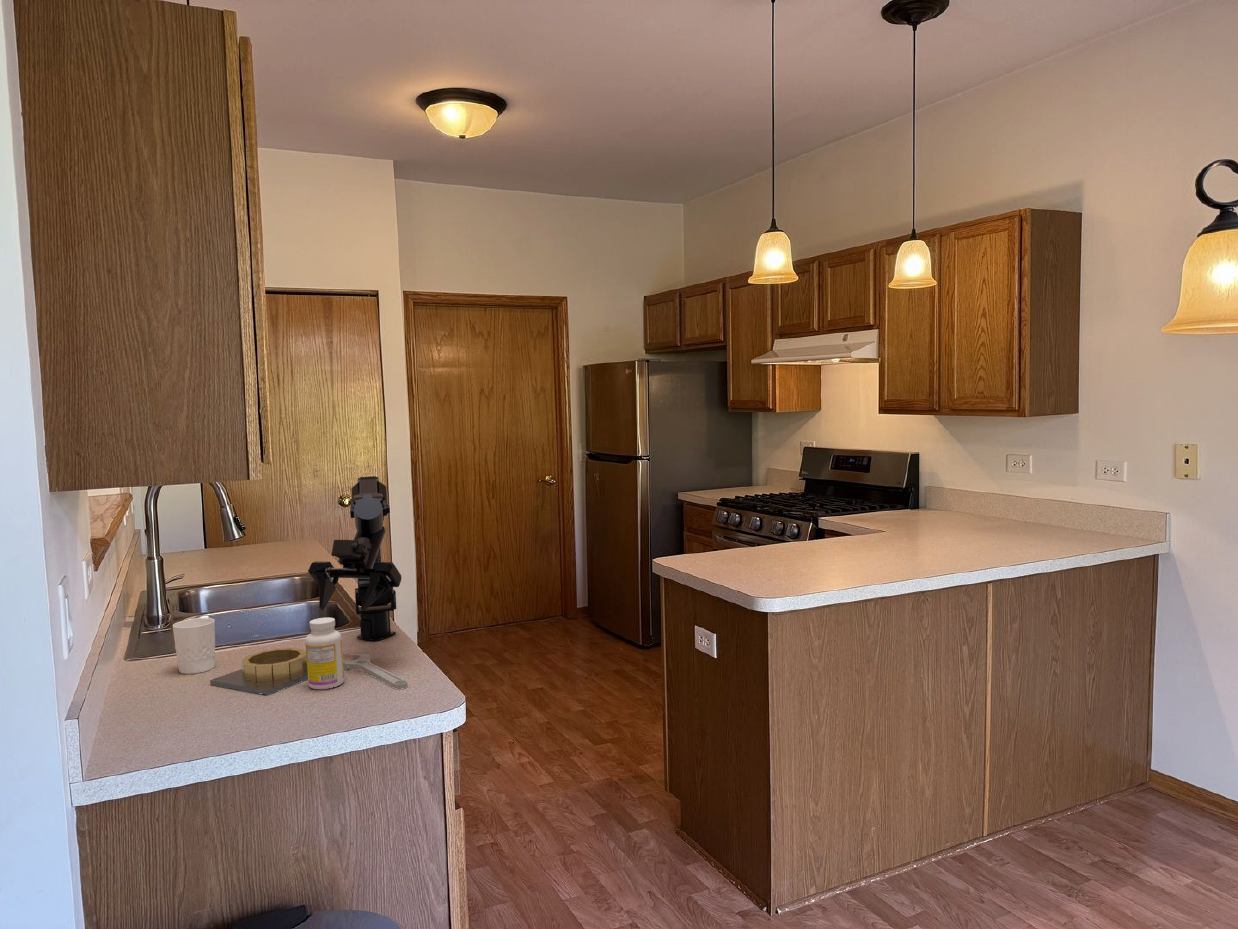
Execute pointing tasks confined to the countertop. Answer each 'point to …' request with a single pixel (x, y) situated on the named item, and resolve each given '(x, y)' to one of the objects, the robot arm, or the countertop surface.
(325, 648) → the supplement bottle
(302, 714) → the countertop surface
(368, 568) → the robot arm
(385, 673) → the adjustable wrench
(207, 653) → the white cup
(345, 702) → the countertop surface
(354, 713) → the countertop surface
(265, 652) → the ring collar
